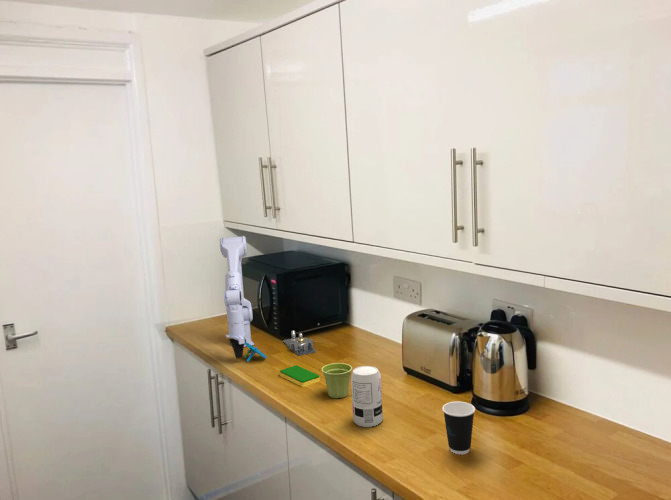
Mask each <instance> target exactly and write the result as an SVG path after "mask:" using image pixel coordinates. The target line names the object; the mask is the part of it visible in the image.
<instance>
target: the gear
mask: <svg viewBox="0 0 671 500" xmlns="http://www.w3.org/2000/svg"><path fill="white" fill-rule="evenodd" d="M245 345H246V347H247V353H246V354H245V355H244V358H245V359H246V360H245V361H247V362H248V363H249V362H250V361H251V359H252V357H254V356H255V355H256V354H257V355H259V356H261V357H262V358H263V359H266V358H267V357H268V356H267V355H266V354H265V353H263V352H261V350H259V349H258V347H257V346H254V345H250V344H249V343H247V342H246V343H245Z"/></svg>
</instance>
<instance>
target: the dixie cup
mask: <svg viewBox="0 0 671 500" xmlns="http://www.w3.org/2000/svg"><path fill="white" fill-rule="evenodd" d="M475 411H476V407H475V406H474V405H473V404H472V403H470V402H465V401H450V402H447V403H445V404H443V405H442V412H443V417H444V423H445V430H446V437H447V438H446V439H447V443H448V448H449V450H450V452H451V453H452V452H453V453H452V454H454V453H455V455H460V454H461V456H462V455H466V454H468V453H469V452H470V449H471V447H472V438H473V437H472V436H473V428H474V417H475V416H474V415H475Z"/></svg>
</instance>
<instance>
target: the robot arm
mask: <svg viewBox="0 0 671 500" xmlns="http://www.w3.org/2000/svg"><path fill="white" fill-rule="evenodd" d="M219 249H220V253H221V255H222V256H223V258H225V259H227V260H226V261H227V268H228V272H226V273H225V278H224V279H225V291H224V292H223V302H224V305H225V306H224V307H225V311H226V320H227V325H228V326H227V327H228V328H227V329H228V334H227V333H226V334H225V338H226V339H227V338H229V339H228V341H229V343H230V344H231V345H230V346H231V347H232V350H233V354H234V356H235V358H236V359H241V358H243V356H244V348H245V347H247V346H246V345H245V343H246V342H247V343H249V344H250V345H252V346H254V345H255V343H254V342H253V340H252V336H251V335H252V333H251V332H252V331H251V322H252V321H253V315H254V314H253V307H252V303H251V301H250V300H248V299H247V298H245V297H244V296H245V295H244V284H243V271H242V270H243V267H242V260H243V257H246V256H247V253H248V251H247V249H248V247H247V237H246V236H245V235H242V236H231V237H229V236H227V237H223V236H222V237H220V239H219Z"/></svg>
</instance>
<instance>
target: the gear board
mask: <svg viewBox="0 0 671 500" xmlns="http://www.w3.org/2000/svg"><path fill="white" fill-rule="evenodd" d="M282 342H284V343H285V344H284V343H283V344H284V345H285V346H287V347H288V349H289V350H291V351H292V352H293V353H294V354H295V355H297V356H304V355H310V354H314V353H316V352H317V349H315V348H314V339H312V338H310V339H309V338H308V337H303V333H302V332H299V333H298V337H296V331H295V330H291V338H288V339H283V340H282Z"/></svg>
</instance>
